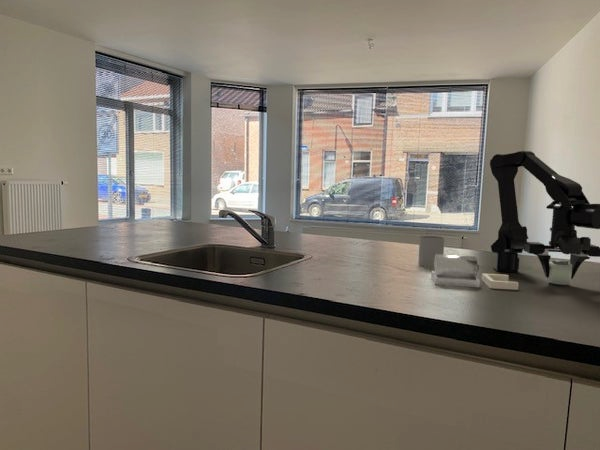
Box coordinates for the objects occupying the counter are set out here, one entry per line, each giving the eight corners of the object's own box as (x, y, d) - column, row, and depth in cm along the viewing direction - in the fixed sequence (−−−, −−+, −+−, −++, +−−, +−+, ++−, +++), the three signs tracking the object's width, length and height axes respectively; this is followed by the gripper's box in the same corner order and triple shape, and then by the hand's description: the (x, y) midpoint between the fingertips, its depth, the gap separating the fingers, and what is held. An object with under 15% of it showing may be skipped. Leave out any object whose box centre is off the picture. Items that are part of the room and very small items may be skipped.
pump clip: (490, 288, 117) (490, 281, 117) (481, 279, 127) (482, 273, 127) (517, 289, 116) (518, 282, 115) (507, 281, 126) (507, 274, 125)
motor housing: (435, 284, 120) (436, 257, 119) (431, 277, 130) (432, 251, 129) (481, 287, 118) (483, 259, 117) (473, 279, 127) (475, 253, 126)
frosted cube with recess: (551, 284, 120) (553, 262, 120) (543, 279, 126) (545, 258, 126) (574, 285, 119) (576, 263, 119) (565, 280, 125) (567, 259, 124)
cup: (442, 263, 152) (444, 236, 151) (442, 267, 145) (444, 239, 144) (419, 261, 155) (420, 235, 154) (417, 265, 147) (418, 237, 146)
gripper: (538, 227, 115) (534, 282, 117) (614, 229, 111) (609, 286, 113) (524, 223, 126) (521, 274, 127) (594, 225, 122) (589, 277, 124)
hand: (558, 278), depth 123 cm, fingers closed on frosted cube with recess, 6 cm apart
